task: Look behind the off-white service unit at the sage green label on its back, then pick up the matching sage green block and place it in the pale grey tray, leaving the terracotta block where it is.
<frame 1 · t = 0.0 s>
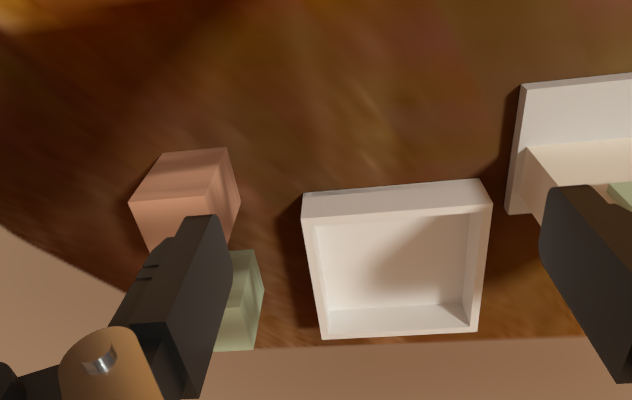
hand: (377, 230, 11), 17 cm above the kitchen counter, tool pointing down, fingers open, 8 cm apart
tray: (391, 251, 34), on the kitchen counter
service unit: (608, 142, 28), on the kitchen counter
terracotta block: (203, 178, 30), on the kitchen counter
sage block: (232, 271, 35), on the kitchen counter
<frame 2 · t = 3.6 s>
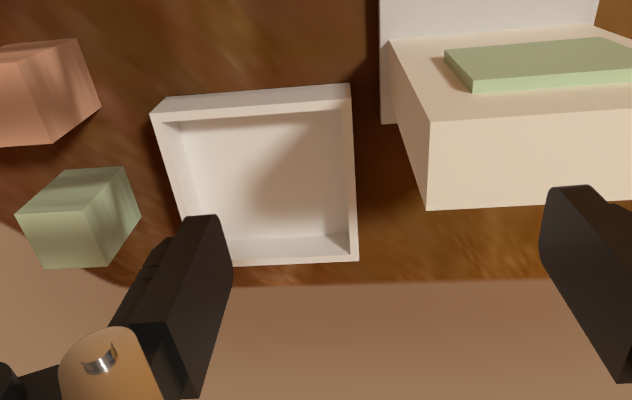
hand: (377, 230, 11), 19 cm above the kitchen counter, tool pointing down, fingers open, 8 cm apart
tray: (269, 172, 31), on the kitchen counter
service unit: (478, 41, 26), on the kitchen counter
terracotta block: (57, 76, 28), on the kitchen counter
sage block: (104, 193, 33), on the kitchen counter
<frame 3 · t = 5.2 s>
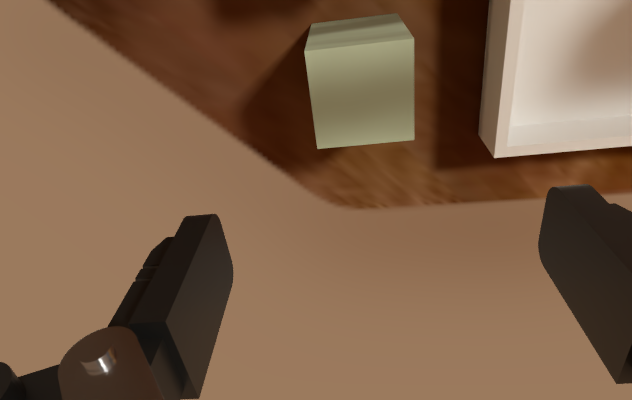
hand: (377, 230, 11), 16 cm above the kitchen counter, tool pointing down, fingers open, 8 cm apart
tray: (610, 13, 22), on the kitchen counter
sage block: (356, 61, 24), on the kitchen counter
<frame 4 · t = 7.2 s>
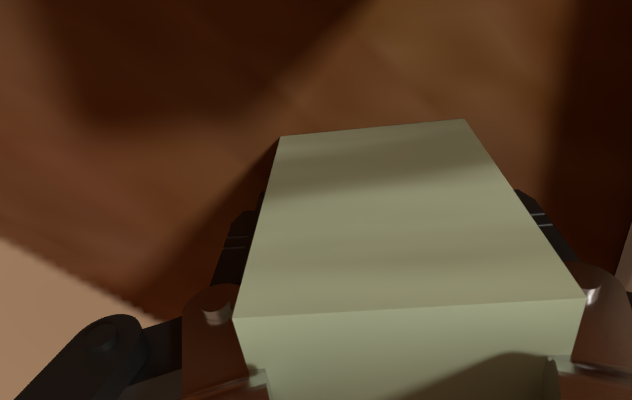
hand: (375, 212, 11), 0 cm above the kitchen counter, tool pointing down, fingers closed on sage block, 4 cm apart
sage block: (374, 204, 12), on the kitchen counter, touching gripper
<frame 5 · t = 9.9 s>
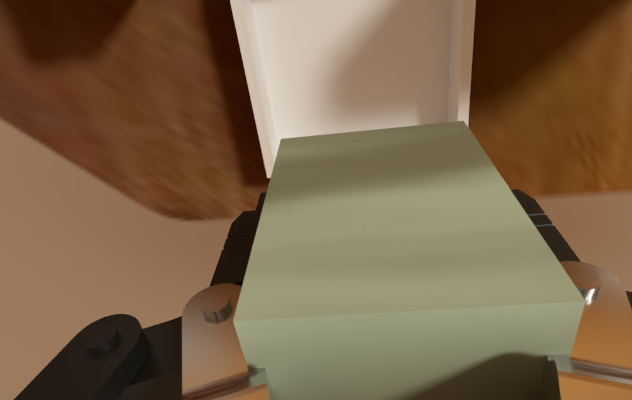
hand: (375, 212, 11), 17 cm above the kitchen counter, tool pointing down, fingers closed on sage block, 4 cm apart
tray: (354, 56, 26), on the kitchen counter
sage block: (375, 206, 12), point 17 cm above the kitchen counter, touching gripper
when the fingers open (3 cm above the kitchen counter, at t = 12.9 s): sage block drops 2 cm, resting on tray.
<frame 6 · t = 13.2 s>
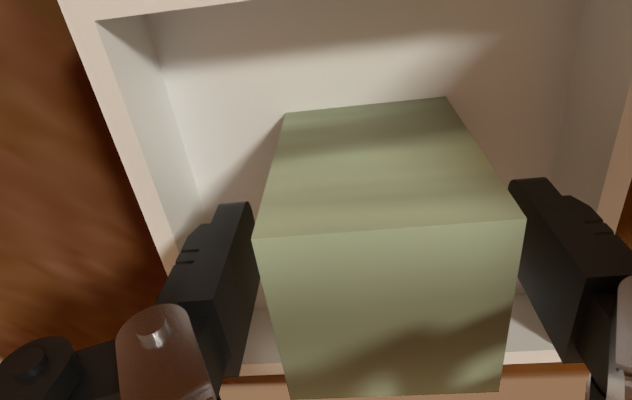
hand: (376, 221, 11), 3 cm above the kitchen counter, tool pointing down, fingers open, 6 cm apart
tray: (368, 164, 14), on the kitchen counter
sage block: (368, 174, 13), point 1 cm above the kitchen counter, touching tray
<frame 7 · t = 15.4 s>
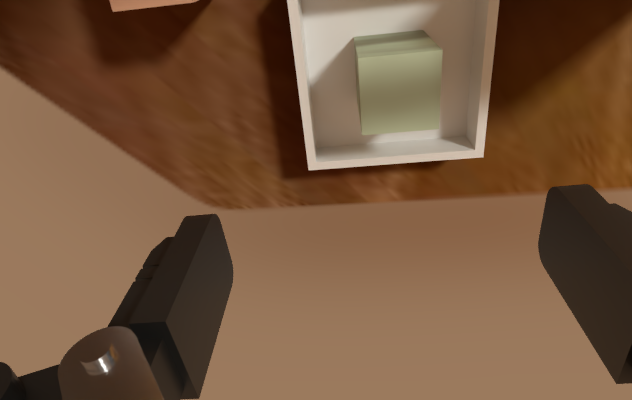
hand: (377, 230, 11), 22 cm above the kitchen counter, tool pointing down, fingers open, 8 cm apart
tray: (388, 65, 30), on the kitchen counter
sage block: (388, 68, 29), point 1 cm above the kitchen counter, touching tray
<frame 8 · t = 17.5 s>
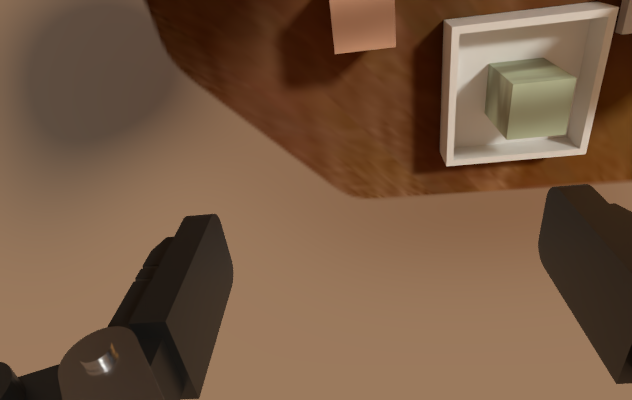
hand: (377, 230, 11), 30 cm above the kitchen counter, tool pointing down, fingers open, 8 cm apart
tray: (510, 83, 39), on the kitchen counter
terracotta block: (359, 5, 36), on the kitchen counter
sage block: (512, 86, 38), point 1 cm above the kitchen counter, touching tray
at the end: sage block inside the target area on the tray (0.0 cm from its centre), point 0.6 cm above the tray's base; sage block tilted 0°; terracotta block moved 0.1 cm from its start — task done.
